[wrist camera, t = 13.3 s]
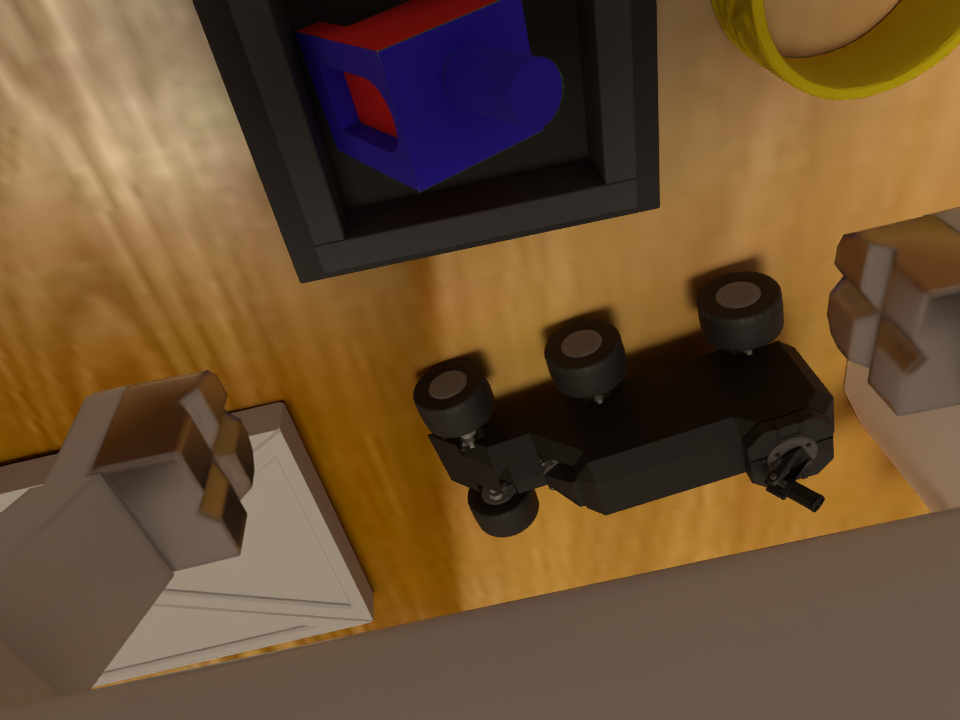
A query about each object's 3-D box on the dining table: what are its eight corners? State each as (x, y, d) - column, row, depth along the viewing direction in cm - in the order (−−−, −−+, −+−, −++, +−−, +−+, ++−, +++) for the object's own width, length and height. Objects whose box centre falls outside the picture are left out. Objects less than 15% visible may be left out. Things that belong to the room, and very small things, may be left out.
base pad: (137, -164, 18) (101, -161, 16) (642, -274, 18) (684, -288, 16) (302, 273, 26) (295, 318, 24) (653, 198, 26) (682, 237, 24)
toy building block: (447, 99, 24) (614, 149, 18) (336, 151, 22) (478, 223, 17) (418, -18, 22) (596, -3, 16) (293, 32, 20) (437, 66, 14)
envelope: (373, 588, 38) (283, 397, 30) (374, 625, 36) (279, 433, 28) (-70, 691, 38) (-285, 529, 30) (-90, 734, 36) (-325, 574, 28)
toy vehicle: (777, 400, 33) (885, 557, 26) (468, 498, 34) (492, 671, 27) (763, 252, 28) (892, 396, 21) (403, 374, 29) (412, 547, 22)
